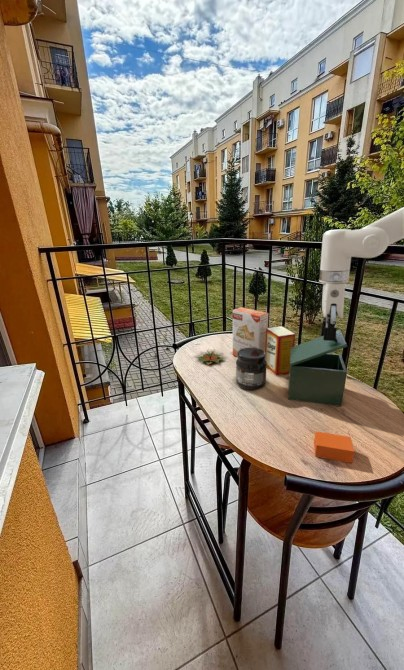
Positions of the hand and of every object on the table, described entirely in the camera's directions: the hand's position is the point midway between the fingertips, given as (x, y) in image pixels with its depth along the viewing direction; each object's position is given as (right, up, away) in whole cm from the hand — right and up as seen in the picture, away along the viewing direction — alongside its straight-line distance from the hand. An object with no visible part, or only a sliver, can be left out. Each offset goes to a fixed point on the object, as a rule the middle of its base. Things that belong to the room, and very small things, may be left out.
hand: (328, 336), depth 85 cm
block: (-7, -28, -17) cm, 33 cm away
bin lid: (-3, -4, +2) cm, 5 cm away
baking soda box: (-9, -13, +24) cm, 29 cm away
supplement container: (-21, -17, +15) cm, 31 cm away
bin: (-2, -19, +8) cm, 20 cm away
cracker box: (-18, -10, +34) cm, 40 cm away
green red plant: (-35, -10, +34) cm, 50 cm away
